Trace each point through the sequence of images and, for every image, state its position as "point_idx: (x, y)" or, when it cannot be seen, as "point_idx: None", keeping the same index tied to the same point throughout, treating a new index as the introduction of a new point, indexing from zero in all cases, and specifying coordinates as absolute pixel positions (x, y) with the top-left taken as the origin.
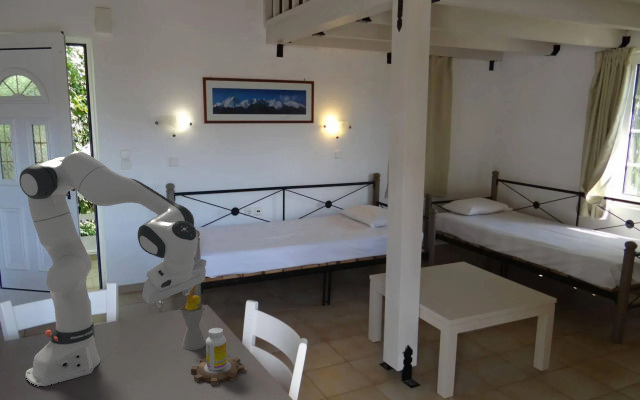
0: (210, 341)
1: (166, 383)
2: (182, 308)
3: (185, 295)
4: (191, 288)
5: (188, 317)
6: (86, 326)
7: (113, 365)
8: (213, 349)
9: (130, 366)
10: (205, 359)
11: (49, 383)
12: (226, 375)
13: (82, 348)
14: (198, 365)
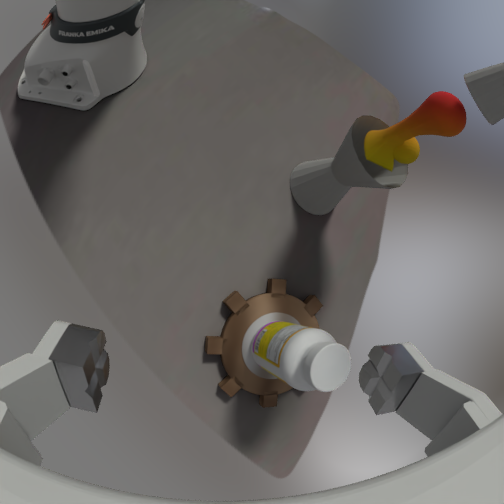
0: (290, 371)
1: (151, 292)
2: (360, 122)
3: (362, 387)
4: (429, 433)
5: (348, 166)
6: (95, 15)
7: (135, 114)
8: (280, 377)
9: (153, 146)
10: (281, 288)
11: (25, 97)
12: (261, 392)
13: (77, 60)
14: (250, 301)
